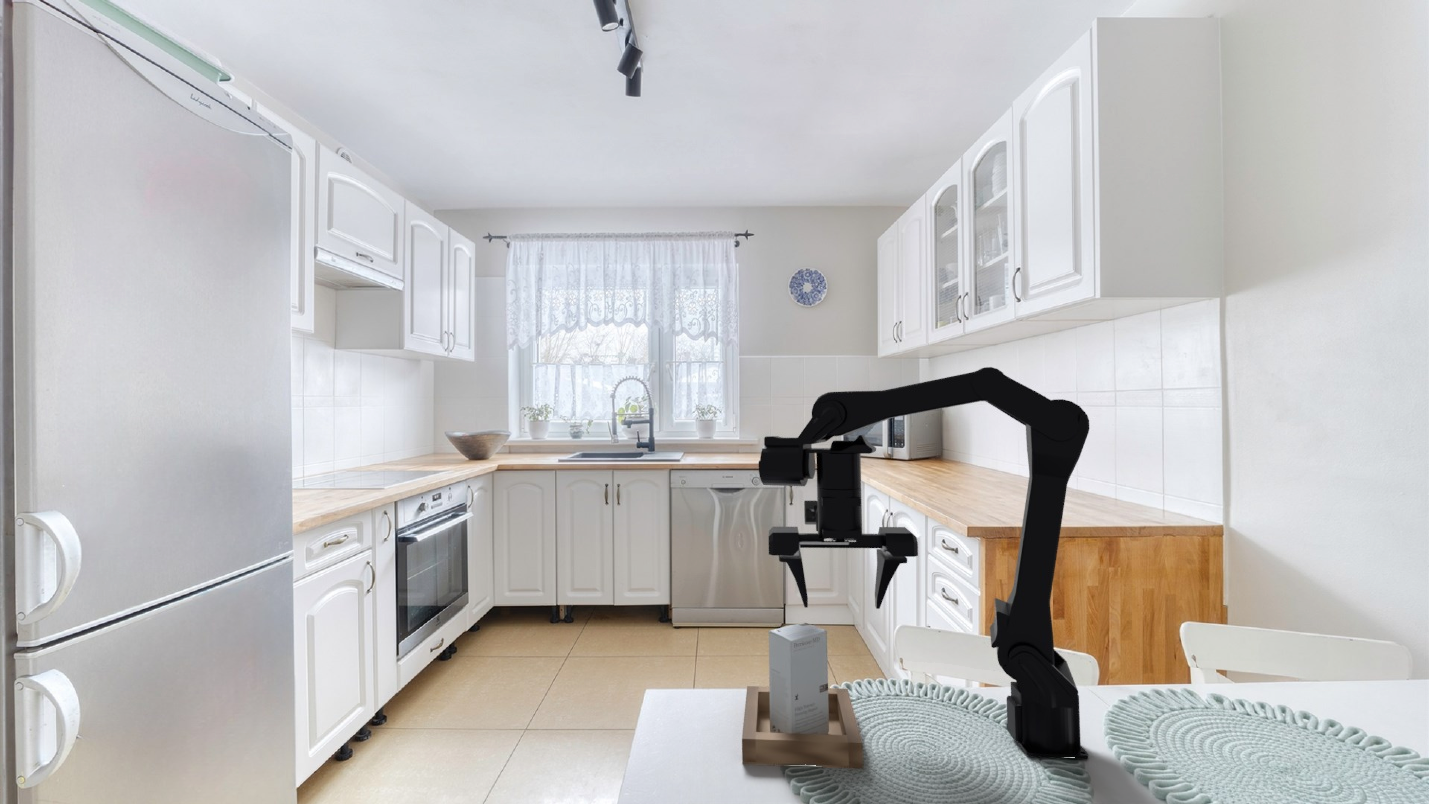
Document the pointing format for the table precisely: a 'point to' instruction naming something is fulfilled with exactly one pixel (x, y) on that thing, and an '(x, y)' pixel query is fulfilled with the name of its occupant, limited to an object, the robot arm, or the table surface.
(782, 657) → the skincare box
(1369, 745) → the table surface
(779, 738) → the brown wooden tray
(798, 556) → the robot arm
